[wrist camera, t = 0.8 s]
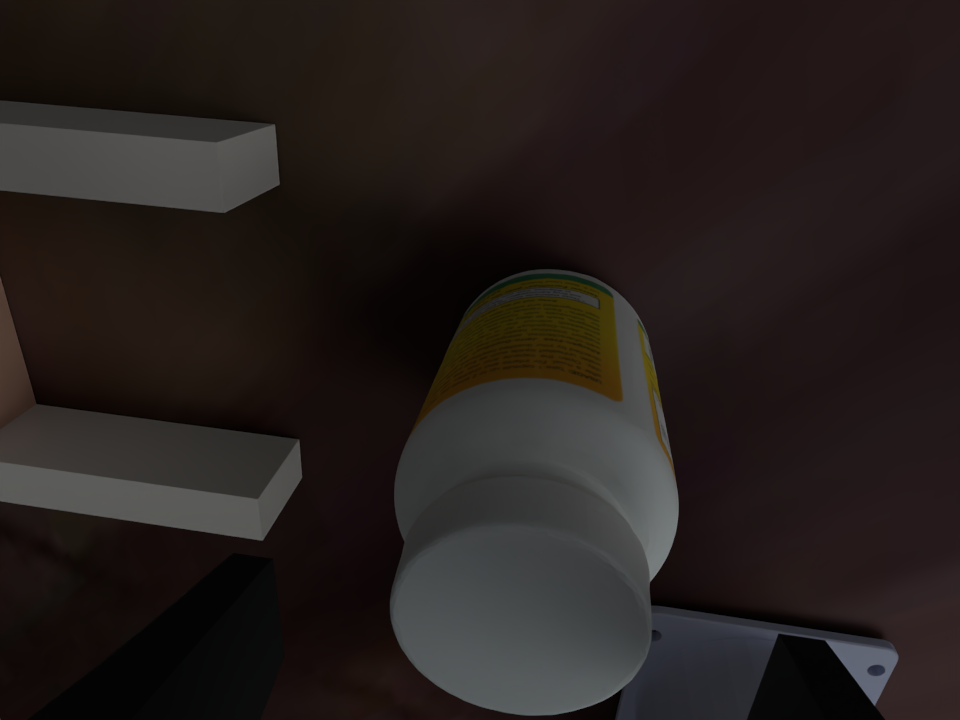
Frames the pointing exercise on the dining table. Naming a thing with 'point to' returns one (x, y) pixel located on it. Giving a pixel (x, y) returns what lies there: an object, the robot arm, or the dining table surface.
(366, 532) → the dining table surface
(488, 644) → the supplement bottle
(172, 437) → the frame
